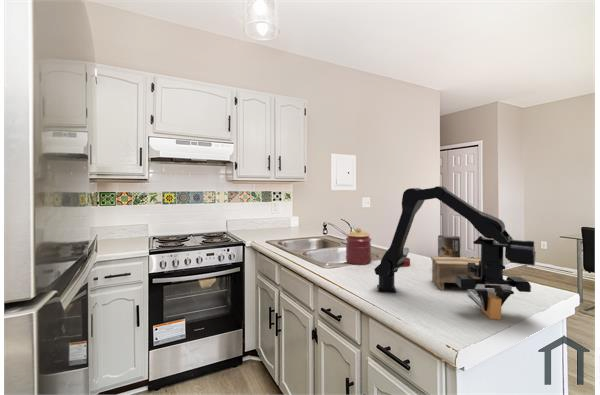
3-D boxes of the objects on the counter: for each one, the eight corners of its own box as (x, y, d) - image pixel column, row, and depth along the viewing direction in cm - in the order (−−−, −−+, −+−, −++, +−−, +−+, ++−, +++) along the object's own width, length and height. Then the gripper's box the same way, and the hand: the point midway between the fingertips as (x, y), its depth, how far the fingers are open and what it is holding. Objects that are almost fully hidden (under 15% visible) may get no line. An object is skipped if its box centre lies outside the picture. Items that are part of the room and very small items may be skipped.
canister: (348, 257, 163) (348, 225, 162) (373, 259, 158) (373, 226, 158) (343, 263, 151) (343, 229, 150) (369, 266, 146) (369, 230, 146)
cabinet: (503, 293, 108) (504, 266, 108) (438, 290, 112) (438, 263, 112) (489, 283, 119) (489, 258, 119) (430, 280, 124) (431, 256, 123)
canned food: (407, 276, 145) (408, 260, 140) (386, 271, 150) (386, 256, 145) (412, 261, 153) (413, 245, 148) (392, 256, 158) (392, 242, 153)
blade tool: (525, 320, 87) (526, 300, 86) (490, 318, 88) (491, 299, 88) (493, 294, 106) (494, 277, 106) (464, 293, 107) (465, 276, 107)
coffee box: (460, 271, 136) (460, 236, 136) (460, 275, 131) (460, 238, 130) (438, 268, 141) (438, 234, 140) (437, 272, 135) (437, 237, 134)
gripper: (512, 254, 97) (511, 302, 97) (450, 253, 100) (449, 299, 101) (532, 263, 86) (531, 317, 86) (461, 261, 89) (461, 313, 90)
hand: (491, 310), depth 91 cm, fingers closed on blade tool, 3 cm apart
